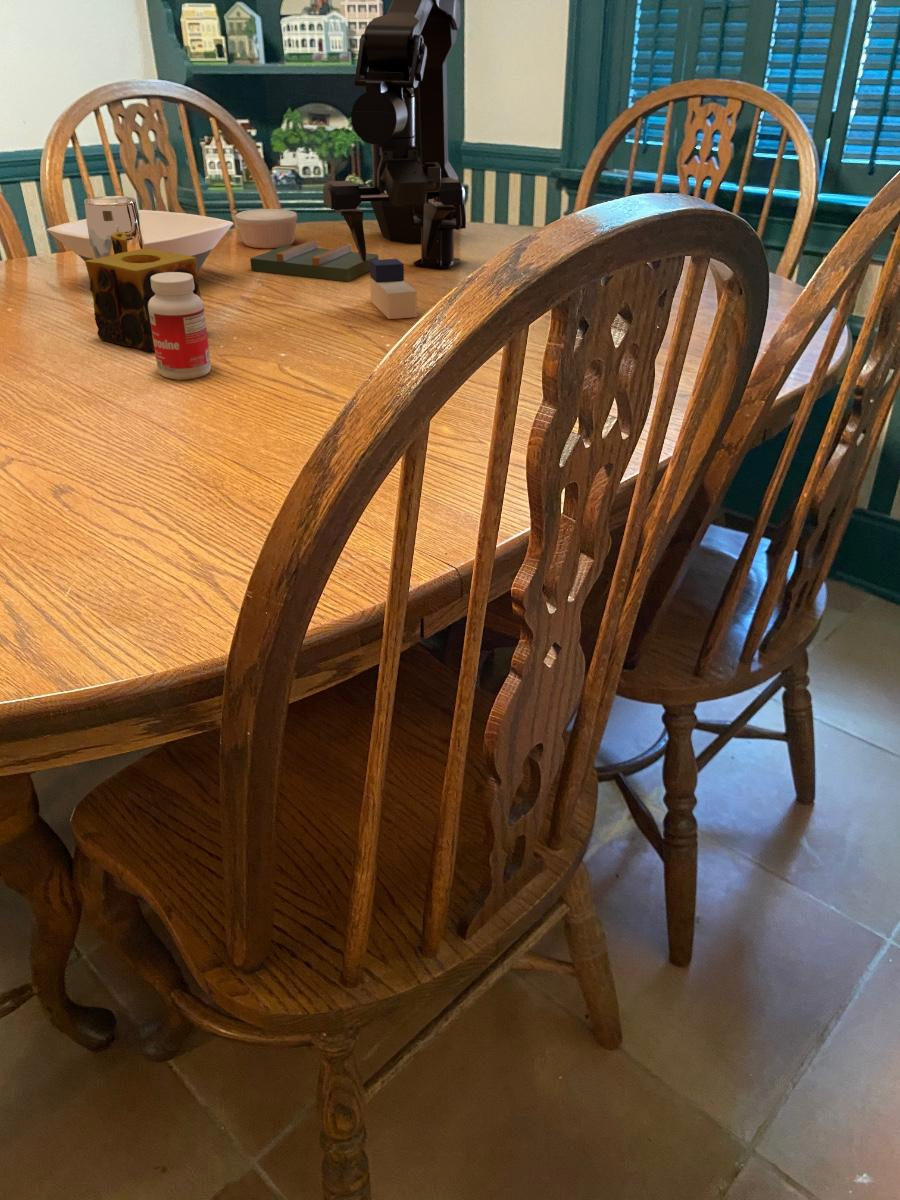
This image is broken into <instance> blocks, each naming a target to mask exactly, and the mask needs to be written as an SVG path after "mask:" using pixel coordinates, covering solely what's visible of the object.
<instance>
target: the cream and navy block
mask: <svg viewBox="0 0 900 1200" xmlns="http://www.w3.org/2000/svg"><path fill="white" fill-rule="evenodd" d="M369 277H370V278H369V280H370V281H369V282H370V285H369V286H370V302H371V303H372V304H373V306H374V307H376V308H377V309H378V311H379V312H381V313H382V314H383V315H384V316H385V317H386V318H387V319H388V320H396V319H398V320H399V319H410V318H417V317H418V300H417V299H418V292H417V290H416V289H414V288H413V287H412V286H410V285H409V284H408V283H407V282H406V281H405V264H404V263H403V262H402V261H401V260H399V259H398V258H386V259H384V258H383V259H379V260H370V271H369Z"/></svg>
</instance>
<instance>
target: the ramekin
mask: <svg viewBox="0 0 900 1200" xmlns="http://www.w3.org/2000/svg"><path fill="white" fill-rule="evenodd" d="M234 218H235V222H236V223H237V226H238V230H239V234H240V237H241V240H242V243H243V244H244V245H245V246H247V247H249V248H253V249H277V248H279V247H282V246H285V245H293V243H294V242H295V240H296V231H297V230H296V229H297V221H298V213H297V212H296V211H293V210H288V209H282V208H258V209H257V208H256V209H248V210H243V211H239V212H238V213H236V214H235V216H234Z"/></svg>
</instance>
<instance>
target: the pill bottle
mask: <svg viewBox="0 0 900 1200" xmlns="http://www.w3.org/2000/svg"><path fill="white" fill-rule="evenodd" d="M150 279H151V288H152V290H153V292H155V295H154V296H153V297H152V298H151V299H150V300H149V303H148V310H149V317H150V323H151V329H152V337H153V343H154V349H155V351H154V354H155V355H154V356H155V361H156V366H157V371H158V373H159V374H160V375H161V376H162V377H164V378H167V379H170V380H177V381H179V380H181V381H183V380H184V381H185V380H194V379H197V378H200V377H204V376H206V375H207V374H209V373H210V372H211V369H212V363H211V362H212V361H211V354H210V348H209V338H208V331H207V321H206V315H205V305H204V302H203V299H202V297H201V298H200V297H199V296H197V295H196V294H194V293H193V290H194V289H195V288H194V287H195V285H194V279H193V276H192V275H191V274H188V273H181V272H166V273H159V274H155V275H153V276H151V278H150Z"/></svg>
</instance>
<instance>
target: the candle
mask: <svg viewBox="0 0 900 1200" xmlns="http://www.w3.org/2000/svg"><path fill="white" fill-rule="evenodd" d="M84 263H85V267H86V270H87V274H88V279H89V290H90V292H91V295H92V301H93V312H94V314H93V316H94V321H95V325H96V327H97V332H96V333H97V336H98V339H100V340H102V341H105V342H107V343H108V342H109V343H113V344H117V345H120V346H125V347H131V348H132V347H133V348H136V349H140V350H142V351H145V352H150V353H151V352H155V349H154V343H153V337H152V329H151V323H150V317H149V310H148V303H149V300H150V299H151V298H152V297H153V296H154V295H155V292H153V290H152V288H151V279H150V278H151V276H153V275H155V274H159V273H166V272H181V273H188V274H191V275H192V276H193V279H194V285H195V287H194V288H195V289H194V290H193V293H194V294H196V295H197V296H199V297H200V298H201V299H202V296H201V294H202V293H201V288H200V283H199V280H198V279H199V272H198V273H197V262H196V258H195V257H192V256H186V255H182V254H176V253H169V252H163V251H157V250H151V249H139V250H134V251H129V252H123V253H118V254H114V255H110V256H106V257H101V258H97V259H92V260H86V261H84Z"/></svg>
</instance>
